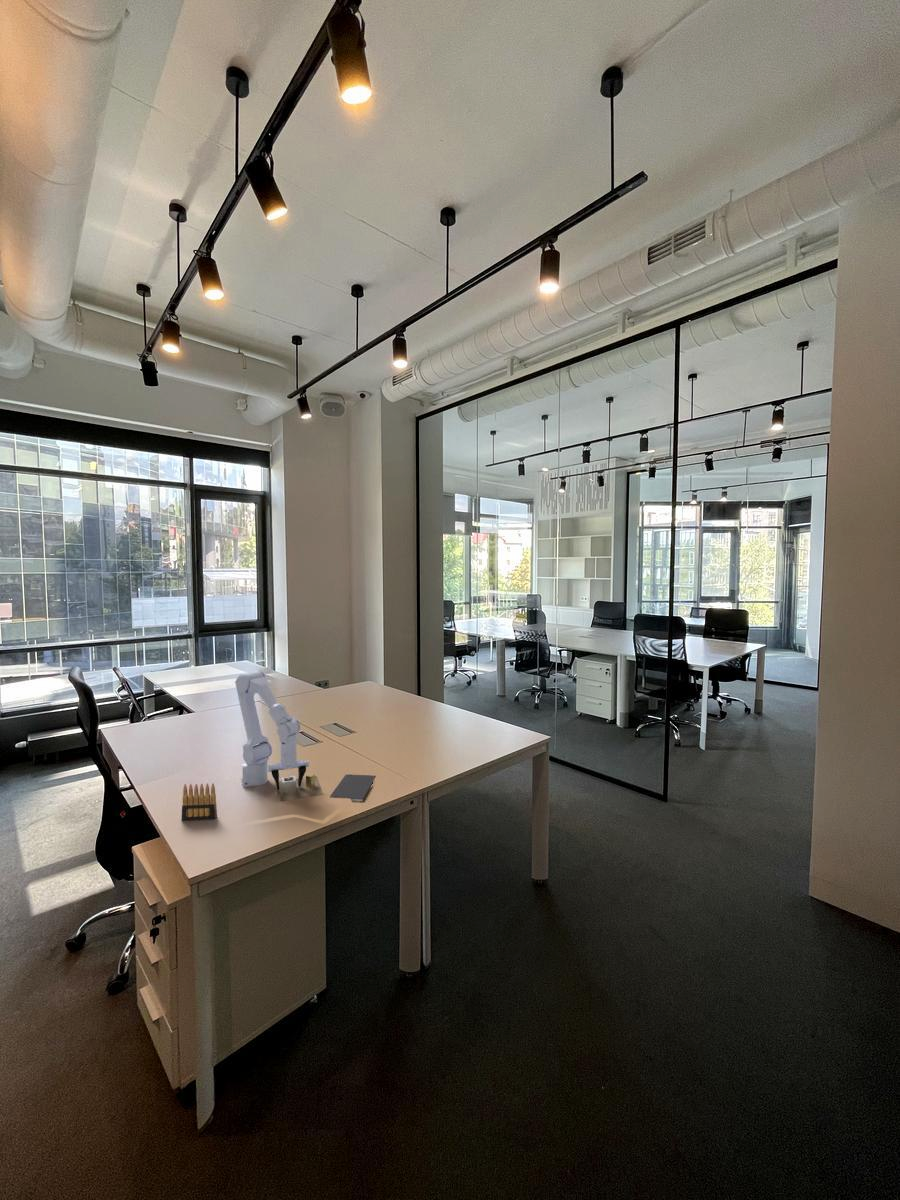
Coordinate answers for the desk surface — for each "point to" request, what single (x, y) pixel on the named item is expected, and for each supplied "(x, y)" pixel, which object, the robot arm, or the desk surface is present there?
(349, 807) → the desk surface
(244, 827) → the desk surface
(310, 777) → the pale yellow square peg
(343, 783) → the notebook
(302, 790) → the tan board
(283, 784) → the steel collar
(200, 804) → the ammunition clip
